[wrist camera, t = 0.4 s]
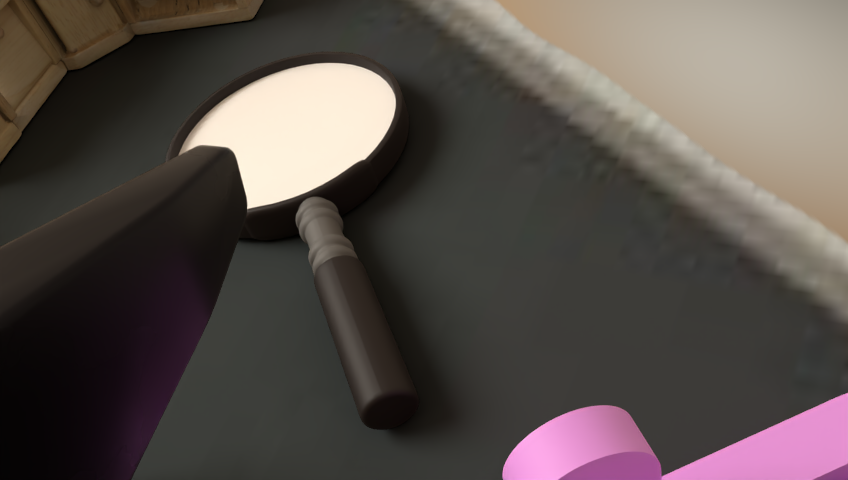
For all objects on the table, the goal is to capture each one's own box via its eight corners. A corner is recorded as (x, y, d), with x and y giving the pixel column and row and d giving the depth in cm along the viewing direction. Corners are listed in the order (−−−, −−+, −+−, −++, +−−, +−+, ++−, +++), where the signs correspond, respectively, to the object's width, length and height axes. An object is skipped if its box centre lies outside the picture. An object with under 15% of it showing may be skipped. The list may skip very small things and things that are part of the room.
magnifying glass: (237, 501, 28) (211, 473, 27) (169, 135, 45) (150, 105, 43) (557, 356, 29) (549, 321, 27) (371, 50, 46) (360, 18, 44)
